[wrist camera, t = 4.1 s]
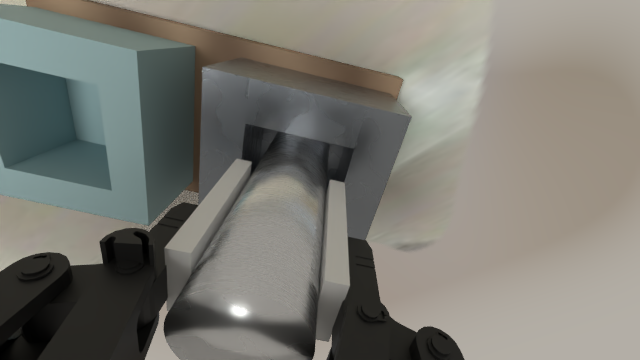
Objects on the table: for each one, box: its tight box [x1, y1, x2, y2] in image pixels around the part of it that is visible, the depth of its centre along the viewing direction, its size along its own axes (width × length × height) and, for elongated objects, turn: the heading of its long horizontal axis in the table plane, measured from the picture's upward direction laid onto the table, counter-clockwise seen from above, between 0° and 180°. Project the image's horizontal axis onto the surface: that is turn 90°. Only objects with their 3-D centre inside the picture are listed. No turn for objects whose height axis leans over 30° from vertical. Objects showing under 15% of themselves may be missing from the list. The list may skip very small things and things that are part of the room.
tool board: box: [26, 0, 403, 193], centre depth 21 cm, size 24×12×2 cm, turn 77°
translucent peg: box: [164, 131, 329, 360], centre depth 14 cm, size 4×4×14 cm
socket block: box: [198, 57, 411, 240], centre depth 18 cm, size 10×10×6 cm
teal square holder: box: [0, 4, 195, 226], centre depth 18 cm, size 10×10×6 cm
